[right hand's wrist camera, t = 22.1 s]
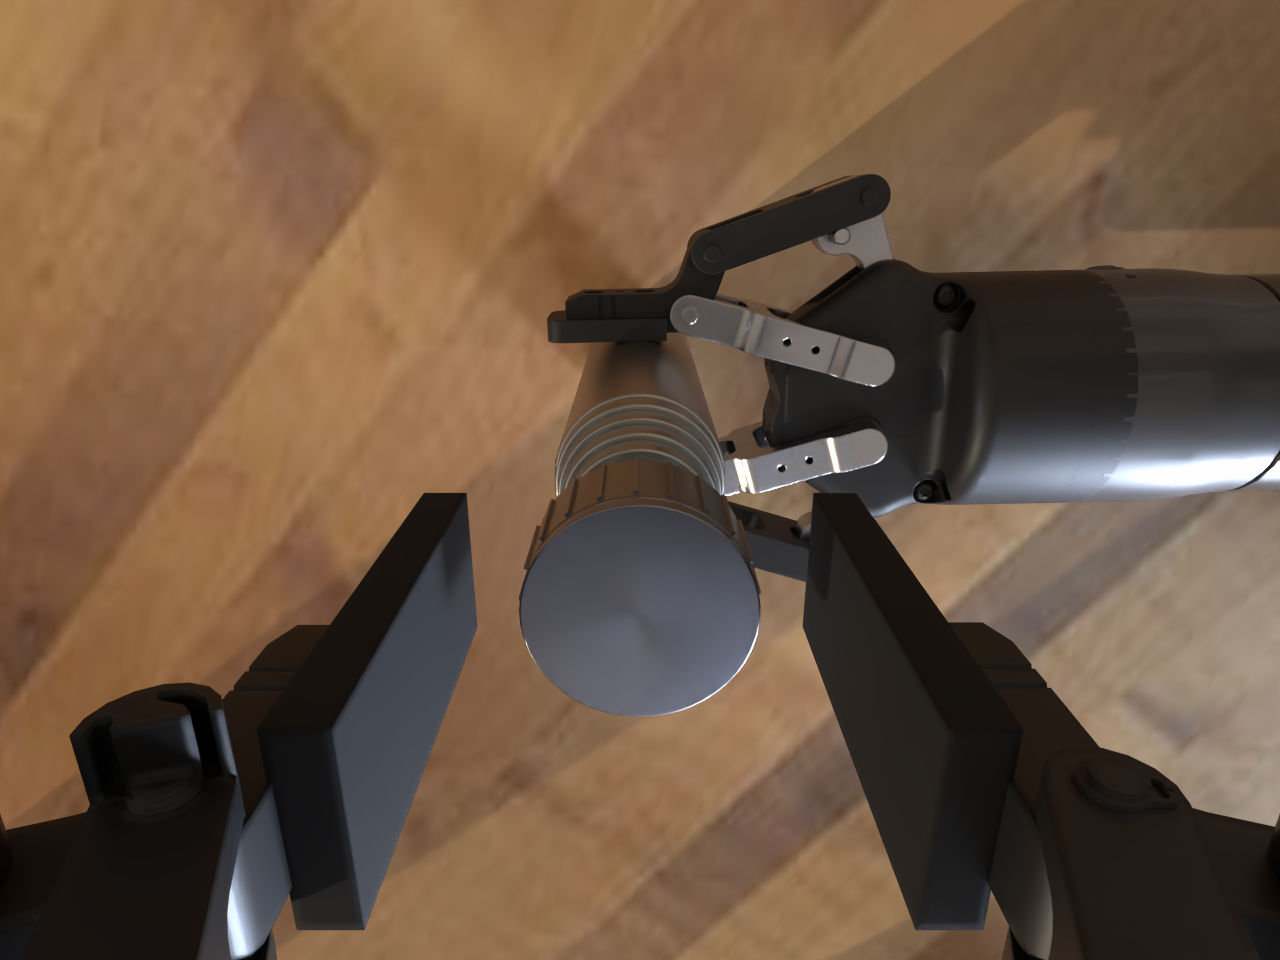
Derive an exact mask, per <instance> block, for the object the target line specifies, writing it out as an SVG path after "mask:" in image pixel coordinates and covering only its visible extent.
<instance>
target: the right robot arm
mask: <svg viewBox="0 0 1280 960" xmlns="http://www.w3.org/2000/svg"><path fill="white" fill-rule="evenodd" d="M476 629H477V617H476V605H475V592H474V580H473V568H472V556H471V543H470V531H469V519H468V507H467V494H466V493H424V494H423V495H422V496H421V498H420V499H419V501H418V502H417V504H416V505H415V506H414V508H413V509H412V511H411V512H410V513H409V515H408V516H407V518H406V519H405V520H404V522H403V523H402V525H401V526H400V527H399V529H398V530H397V532H396V533H395V534H394V536H393V537H392V539H391V540H390V541H389V543H388V544H387V546H386V547H385V549H384V550H383V551H382V553H381V554H380V556H379V557H378V558H377V560H376V561H375V563H374V564H373V565H372V567H371V568H370V570H369V571H368V572H367V574H366V575H365V577H364V578H363V579H362V581H361V582H360V584H359V585H358V586H357V588H356V589H355V591H354V592H353V594H352V595H351V596H350V598H349V599H348V601H347V602H346V603H345V605H344V606H343V608H342V609H341V610H340V612H339V613H338V615H337V616H336V617H335V619H334V620H333V622H332V623H331V624H330V625H297V626H296V627H294V628H293V629H291V630H289V631H288V632H286V633H285V634H283V635H282V636H280V637H279V638H277V639H275V640H274V641H272V642H271V643H269V644H268V645H267V646H266V647H265V648H264V650H263V651H262V652H261V653H260V655H259V656H258V657H257V658H256V659H255V661H254V662H253V663H252V664H251V666H250V667H249V672H245V673H244V674H243V675H242V677H241V678H240V679H239V680H238V681H237V683H236V684H235V685H234V690H233V691H229V692H228V694H227V695H226V696H225V697H224V699H223V700H222V699H221V695H219V694H218V693H217V692H215V691H214V690H213V689H212V688H210V687H209V686H204V685H199V684H193V683H176V684H162V685H158V686H154V687H150V688H147V689H143V690H139V691H135V692H132V693H130V694H128V695H125V696H123V697H121V698H118V699H116V700H114V701H111V702H109V703H107V704H105V705H104V706H102V707H101V708H99V709H98V710H96V711H95V712H93V713H92V714H90V715H89V716H87V717H86V718H84V719H83V720H82V722H81V723H80V724H79V725H78V726H77V727H76V729H75V730H74V731H73V732H72V733H71V734H70V735H69V736H70V740H71V743H72V746H73V750H74V753H75V756H76V760H77V763H78V766H79V769H80V773H81V776H82V779H83V783H84V786H85V789H86V793H87V796H88V799H89V802H90V806H89V808H88V811H87V812H84V813H81V814H77V815H74V816H69V817H65V818H60V819H55V820H51V821H46V822H42V823H37V824H32V825H28V826H23V827H19V828H14V829H10V830H6V829H5V826H4V823H3V820H2V818H1V815H0V960H277V956H276V949H275V942H274V938H273V933H272V927H273V925H274V923H275V921H276V919H277V917H278V914H279V912H280V910H281V908H282V906H283V904H284V902H285V900H286V898H287V896H288V894H289V893H290V898H291V903H292V908H293V913H294V918H295V923H296V928H297V930H364V929H365V927H366V924H367V921H368V919H369V916H370V913H371V911H372V908H373V905H374V903H375V900H376V897H377V895H378V892H379V889H380V886H381V884H382V881H383V878H384V876H385V873H386V870H387V868H388V865H389V862H390V860H391V857H392V854H393V852H394V849H395V846H396V844H397V841H398V838H399V835H400V833H401V830H402V827H403V825H404V822H405V819H406V817H407V814H408V811H409V809H410V806H411V803H412V801H413V798H414V795H415V792H416V790H417V787H418V784H419V782H420V779H421V776H422V774H423V771H424V768H425V766H426V763H427V760H428V758H429V755H430V752H431V749H432V747H433V744H434V741H435V739H436V736H437V733H438V731H439V728H440V725H441V723H442V720H443V717H444V715H445V712H446V709H447V706H448V704H449V701H450V698H451V696H452V693H453V690H454V688H455V685H456V682H457V680H458V677H459V674H460V672H461V669H462V666H463V663H464V661H465V658H466V655H467V653H468V650H469V647H470V645H471V642H472V639H473V637H474V634H475V631H476ZM803 629H804V631H805V634H806V637H807V639H808V642H809V645H810V647H811V650H812V653H813V655H814V658H815V661H816V663H817V666H818V669H819V672H820V674H821V677H822V680H823V682H824V685H825V688H826V690H827V693H828V696H829V698H830V701H831V704H832V706H833V709H834V712H835V715H836V717H837V720H838V723H839V725H840V728H841V731H842V733H843V736H844V739H845V741H846V744H847V747H848V749H849V752H850V755H851V758H852V760H853V763H854V766H855V768H856V771H857V774H858V776H859V779H860V782H861V784H862V787H863V790H864V792H865V795H866V798H867V801H868V803H869V806H870V809H871V811H872V814H873V817H874V819H875V822H876V825H877V827H878V830H879V833H880V835H881V838H882V841H883V844H884V846H885V849H886V852H887V854H888V857H889V860H890V862H891V865H892V868H893V870H894V873H895V876H896V878H897V881H898V884H899V886H900V889H901V892H902V895H903V897H904V900H905V903H906V905H907V908H908V911H909V913H910V916H911V919H912V921H913V924H914V927H915V929H916V930H983V928H984V923H985V918H986V913H987V908H988V903H989V898H990V893H991V890H992V892H993V894H994V896H995V898H996V900H997V902H998V904H999V906H1000V908H1001V910H1002V912H1003V914H1004V916H1005V918H1006V920H1007V922H1008V924H1009V928H1008V933H1007V938H1006V942H1005V947H1004V951H1003V956H1002V960H1280V815H1279V818H1278V820H1277V823H1276V826H1275V827H1273V826H1268V825H1264V824H1259V823H1255V822H1250V821H1245V820H1241V819H1236V818H1232V817H1227V816H1222V815H1218V814H1213V813H1208V812H1205V811H1201V810H1198V809H1194V808H1192V807H1191V805H1190V803H1189V801H1188V800H1187V799H1186V797H1185V796H1184V795H1183V793H1182V792H1181V791H1180V789H1179V788H1178V786H1177V785H1176V784H1174V783H1173V782H1172V781H1170V780H1169V779H1168V778H1167V777H1165V776H1164V775H1163V774H1161V773H1160V772H1159V771H1157V770H1156V769H1155V768H1153V767H1151V766H1149V765H1147V764H1145V763H1143V762H1141V761H1139V760H1136V759H1134V758H1132V757H1130V756H1128V755H1125V754H1121V753H1118V752H1114V751H1111V750H1107V749H1104V748H1100V747H1099V746H1098V745H1097V744H1096V742H1095V741H1094V740H1093V739H1092V737H1091V736H1090V735H1089V734H1088V733H1087V731H1086V730H1085V729H1084V728H1083V727H1082V725H1081V724H1080V723H1079V722H1078V720H1077V719H1076V718H1075V717H1074V716H1073V714H1072V713H1071V712H1070V711H1069V710H1068V708H1067V707H1066V706H1065V705H1064V703H1063V702H1062V701H1061V700H1060V699H1059V697H1058V696H1057V695H1056V694H1055V693H1054V691H1053V690H1052V689H1051V688H1047V683H1046V682H1045V680H1044V679H1043V678H1042V677H1041V676H1040V674H1039V673H1038V672H1037V671H1036V669H1032V668H1031V663H1030V662H1029V661H1028V660H1027V659H1026V657H1025V656H1024V655H1023V654H1022V652H1021V651H1020V650H1019V649H1018V648H1017V646H1016V645H1015V644H1014V643H1013V642H1012V641H1011V640H1009V639H1008V638H1006V637H1004V636H1003V635H1001V634H1000V633H998V632H997V631H995V630H993V629H992V628H990V627H989V626H987V625H986V624H984V623H948V622H947V620H946V619H945V617H944V616H943V615H942V613H941V612H940V610H939V609H938V608H937V606H936V605H935V603H934V602H933V601H932V599H931V598H930V596H929V595H928V594H927V592H926V591H925V589H924V588H923V586H922V585H921V584H920V582H919V581H918V579H917V578H916V577H915V575H914V574H913V572H912V571H911V570H910V568H909V567H908V565H907V564H906V563H905V561H904V560H903V558H902V557H901V556H900V554H899V553H898V551H897V550H896V549H895V547H894V546H893V544H892V543H891V541H890V540H889V539H888V537H887V536H886V534H885V533H884V532H883V530H882V529H881V527H880V526H879V525H878V523H877V522H876V520H875V519H874V518H873V516H872V515H871V513H870V512H869V511H868V509H867V508H866V506H865V505H864V504H863V502H862V501H861V499H860V498H859V496H858V495H857V494H856V493H814V494H813V507H812V519H811V531H810V543H809V556H808V568H807V580H806V592H805V605H804V617H803Z"/></svg>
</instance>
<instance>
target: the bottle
mask: <svg viewBox="0 0 1280 960" xmlns="http://www.w3.org/2000/svg"><path fill="white" fill-rule="evenodd" d="M634 458H639V460H646V461H656V462H662V463H666V464H667V462H672V465H674V466H677V467H679V468H682V469H685V470H687V471H689V472H691V473H693V474H695V475H698V474H700V475H702V477H703V480H704V481H706V482H707V483H708V484H710V485H711V486H712V487H713V488H714V489H715V490H716V491H717V492H718V493H720V495H722V494H724V491H725V465H724V458H723V454H722V450H721V447H720V444H719V440H718V437H717V434H716V431H715V428H714V424H713V421H712V418H711V415H710V411H709V408H708V405H707V402H706V399H705V395H704V392H703V389H702V386H701V383H700V379H699V376H698V373H697V370H696V367H695V363H694V360H693V357H692V354H691V351H690V347H689V344H688V341H687V339H686V337H685V335H684V334H682V333H667V341H631V342H592V345H591V348H590V351H589V354H588V357H587V361H586V364H585V367H584V370H583V373H582V376H581V380H580V383H579V386H578V389H577V392H576V396H575V399H574V402H573V405H572V408H571V412H570V415H569V418H568V421H567V424H566V427H565V431H564V434H563V437H562V440H561V443H560V447H559V450H558V453H557V458H556V464H555V491H556V497H558V496H559V495H560V494H561V493H562V492H563V491H564V490H565V489H566V487H568V486H569V485H570V484H571V482H572V479H574V478H575V477H576V478H577V479H578V478H580V477H582V476H583V475H585V474H587V473H589V472H591V471H593V470H595V469H598V468H600V467H601V464H604V463H605V464H606V465H610V464H613V463H618V462H625V461H632V460H633V461H634Z"/></svg>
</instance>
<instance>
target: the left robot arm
mask: <svg viewBox="0 0 1280 960" xmlns="http://www.w3.org/2000/svg"><path fill="white" fill-rule="evenodd" d="M889 201H890V188H889V185H888V183H887V182H886V181H885V180H884V179H883V178H882V177H880V176H878V175H874V174H868V175H853V176H845V177H842V178H839V179H837V180H834V181H831V182H829V183H826V184H823V185H820V186H818V187H815V188H812V189H809V190H807V191H804V192H801V193H799V194H796V195H793V196H790V197H788V198H785V199H782V200H779V201H777V202H774V203H771V204H769V205H766V206H763V207H760V208H758V209H755V210H752V211H749V212H747V213H744V214H741V215H739V216H736V217H733V218H730V219H728V220H725V221H722V222H719V223H717V224H714V225H711V226H709V227H706V228H703V229H700V230H698V231H696V232H695V233H694V234H693V235H692V236H691V237H690V239H689V241H688V245H687V251H686V253H685V256H684V259H683V262H682V265H681V268H680V271H679V273H678V275H677V277H676V278H675V279H674V281H673V282H671V283H670V284H669V285H667V286H665V287H662V288H648V289H604V290H601V289H600V290H583V291H580V292H578V293H576V294H574V295H571V296H569V297H568V299H567V300H566V302H565V306H566V310H564V311H555V312H552V313H551V314H550V315H549V317H548V318H547V326H548V341H549V342H553V343H589V342H631V341H667V333H682V334H685V335H688V336H692V337H696V338H700V339H704V340H708V341H712V342H716V343H719V344H723V345H727V346H731V347H735V348H738V349H740V350H742V351H744V352H746V353H749V354H752V355H756V356H760V357H764V358H765V368H766V372H767V377H768V381H769V385H770V388H769V392H768V395H767V398H766V401H765V405H764V408H763V421H762V422H758V423H755V424H751V425H748V426H744V427H741V428H738V429H735V430H733V431H732V432H730V433H729V434H728V435H727V436H725V437H722V438H718V440H719V444H720V447H721V450H722V454H723V458H724V465H725V491H724V495H725V496H728V495H731V494H735V493H739V492H748V493H760V492H764V491H768V490H772V489H775V488H779V487H782V486H786V485H790V484H793V483H797V482H800V481H805V482H806V483H808V484H809V485H810V486H812V487H813V488H815V489H816V490H818V491H819V492H821V493H856V494H857V495H858V496H859V498H860V499H861V501H862V502H863V504H864V505H865V506H866V508H867V509H868V511H869V512H870V513H871V515H872V516H873V518H876V517H880V516H883V515H886V514H888V513H890V512H892V511H893V510H895V509H898V508H900V507H903V506H906V505H909V504H914V503H928V504H943V505H962V504H1012V503H1064V502H1108V501H1145V500H1160V499H1168V498H1175V497H1181V496H1187V495H1193V494H1200V493H1207V492H1233V491H1280V274H1239V275H1220V274H1210V273H1202V272H1194V271H1187V270H1177V269H1124V268H1122V267H1115V266H1096V267H1090V268H1087V269H1086V270H1047V271H1003V272H957V273H928V272H922V271H920V270H918V269H916V268H914V267H912V266H911V265H909V264H907V263H905V262H903V261H899V260H895V259H893V256H892V251H891V247H890V243H889V238H888V234H887V230H886V226H885V221H884V217H883V213H882V212H883V211H884V210H885V209H886V207H887V206H888V204H889ZM810 240H812V243H813V245H814V246H815V247H816V248H817V249H818V250H819V251H821V252H824V253H827V254H830V255H841V254H849V255H850V256H851V257H852V258H853V259H854V260H855V262H856V265H857V266H856V267H854V268H853V269H852V270H850V271H849V272H847V273H846V274H845V275H843V276H842V277H841V278H839V279H838V280H836V281H835V282H834V283H832V284H831V285H830V286H828V287H827V288H825V289H824V290H823V291H821V292H820V293H819V294H817V295H816V296H815V297H813V298H812V299H810V300H809V301H808V302H806V303H805V304H804V305H802V306H801V307H799V308H798V309H797V310H795V311H794V312H791V311H787V310H783V309H780V308H776V307H772V306H768V305H765V304H761V303H757V302H753V301H749V300H744V299H736V298H732V297H729V296H725V295H721V294H717V291H718V289H719V286H720V283H721V280H722V278H723V275H724V272H725V271H726V270H729V269H732V268H735V267H737V266H740V265H743V264H746V263H749V262H751V261H754V260H757V259H760V258H762V257H765V256H768V255H771V254H774V253H776V252H779V251H782V250H785V249H788V248H790V247H793V246H796V245H799V244H801V243H804V242H807V241H810ZM765 439H767V440H765ZM555 464H556V461H555ZM780 465H782V466H781V467H779V466H780ZM728 505H729V506H730V508H731V510H732V511H733V513H734V514H735V517H736V519H737V521H738V520H741V522H742V525H743V528H744V531H745V535H746V538H747V541H748V544H749V548H750V551H751V554H752V558H753V561H754V562H753V563H752V564H753V567H754V568H758V569H761V570H765V571H768V572H772V573H776V574H779V575H783V576H786V577H790V578H793V579H797V580H801V581H804V582H806V580H807V568H808V556H809V543H810V531H811V519H812V512H808V513H806V514H804V515H802V516H801V517H800V518H799V519H798V521H795V520H792V519H788V518H785V517H781V516H778V515H774V514H771V513H767V512H764V511H760V510H757V509H753V508H750V507H746V506H743V505H739V504H736V503H732V502H729V501H728Z"/></svg>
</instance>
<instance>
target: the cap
mask: <svg viewBox="0 0 1280 960" xmlns="http://www.w3.org/2000/svg"><path fill="white" fill-rule="evenodd" d="M753 562H754V561H753V558H752V554H751V551H750V548H749V544H748V541H747V538H746V535H745V531H744V528H743V525H742V522H741V520H738V521H737V519H736V517H735V514H734V513H733V511H732V510H731V508H730V506H729V505H728V501H727V498H726V496H725V495H724V494H722V495H720V493H718V492H717V491H716V490H715V489H714V488H713V487H712V486H711V485H710V484H708V483H707V482H706V481H704V480H703V477H702V475H700V474H698V475H695V474H693V473H691V472H689V471H687V470H685V469H682V468H679V467H677V466H674V465H672V462H667V464H666V463H662V462H656V461H646V460H639V458H634V461H633V460H632V461H625V462H618V463H613V464H610V465H606V464H605V463H604V464H601V467H600V468H598V469H595V470H593V471H591V472H589V473H587V474H585V475H583V476H582V477H580V478H578V479H577V478H576V477H575V478H574V479H572V482H571V484H570V485H569V486H568V487H566V489H565V490H564V491H563V492H562V493H561V494H560V495H559V496H558V497H557V498H556V499H555V500H553V499H551V501H550V502H549V506H548V509H547V513H546V515H545V516H544V518H543V521H542V523H541V526H538V525H537V527H536V530H535V533H534V536H533V540H532V543H531V546H530V549H529V553H528V556H527V559H526V562H525V566H524V569H526V570H527V572H526V575H525V578H524V582H523V585H522V589H521V592H520V595H519V601H520V607H519V614H520V625H521V629H522V634H523V638H524V641H525V643H526V646H527V648H528V651H529V653H530V654H531V656H532V658H533V660H534V661H535V663H536V665H537V666H538V667H539V669H540V670H541V671H542V673H543V674H544V675H545V676H546V677H547V678H548V679H549V680H550V681H551V682H552V683H553V684H554V685H555V686H556V687H557V688H559V689H560V690H561V691H562V692H564V693H565V694H566V695H568V696H570V697H571V698H573V699H575V700H576V701H578V702H580V703H582V704H585V705H587V706H589V707H591V708H594V709H597V710H600V711H603V712H607V713H612V714H617V715H624V716H635V717H636V716H656V715H663V714H668V713H672V712H676V711H680V710H683V709H685V708H688V707H691V706H693V705H695V704H697V703H699V702H701V701H703V700H705V699H707V698H709V697H710V696H712V695H713V694H715V693H716V692H718V691H719V690H720V689H721V688H722V687H724V686H725V685H726V684H727V683H728V682H729V681H730V680H731V679H732V678H733V677H734V676H735V675H736V674H737V672H738V671H739V670H740V668H741V667H742V666H743V664H744V663H745V661H746V660H747V658H748V656H749V654H750V652H751V650H752V648H753V646H754V643H755V640H756V637H757V634H758V628H759V623H760V598H759V594H760V587H759V584H758V580H757V577H756V574H755V570H754V567H753V564H752V563H753Z"/></svg>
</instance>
